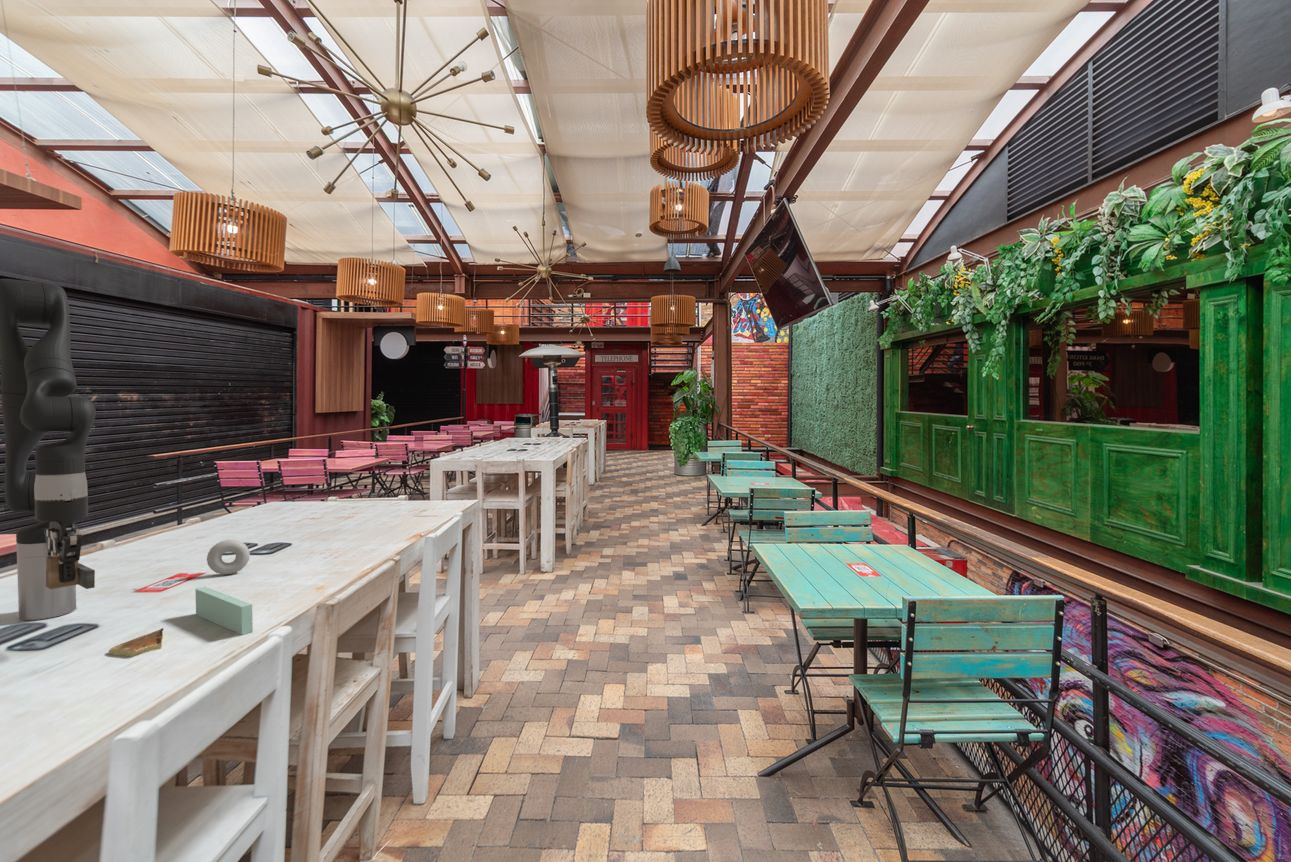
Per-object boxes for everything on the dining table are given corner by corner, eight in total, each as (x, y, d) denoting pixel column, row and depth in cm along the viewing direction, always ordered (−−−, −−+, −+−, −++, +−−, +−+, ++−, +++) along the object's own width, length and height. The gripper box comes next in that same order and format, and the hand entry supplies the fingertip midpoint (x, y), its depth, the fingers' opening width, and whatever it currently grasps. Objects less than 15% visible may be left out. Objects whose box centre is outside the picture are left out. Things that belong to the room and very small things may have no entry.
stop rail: (196, 614, 133) (195, 588, 133) (206, 611, 135) (205, 586, 135) (242, 635, 122) (241, 607, 121) (252, 631, 123) (252, 604, 123)
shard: (163, 634, 123) (162, 626, 122) (193, 637, 121) (192, 629, 121) (106, 656, 112) (106, 647, 112) (139, 660, 110) (138, 650, 110)
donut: (250, 570, 169) (249, 536, 169) (250, 573, 166) (249, 538, 166) (207, 575, 163) (206, 540, 163) (206, 578, 160) (206, 543, 160)
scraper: (38, 582, 118) (38, 553, 118) (72, 576, 123) (73, 548, 122) (58, 593, 111) (58, 563, 111) (94, 587, 116) (94, 557, 116)
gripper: (24, 494, 116) (27, 578, 117) (46, 501, 109) (49, 591, 110) (75, 490, 123) (77, 570, 124) (99, 496, 115) (101, 581, 116)
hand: (64, 579), depth 117 cm, fingers closed on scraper, 3 cm apart
